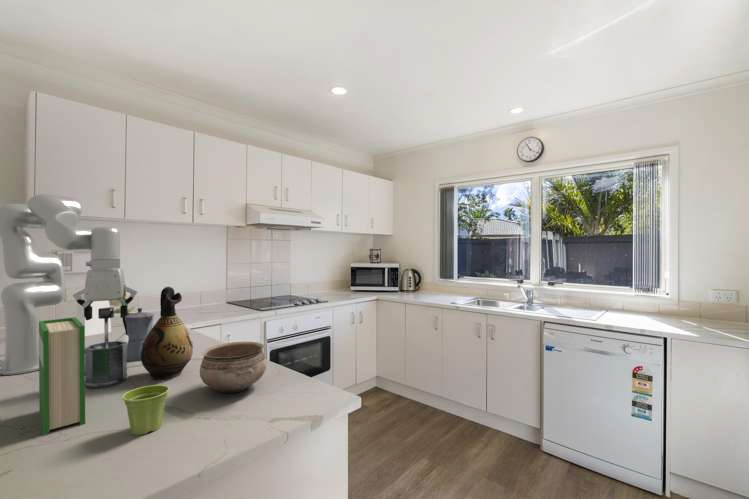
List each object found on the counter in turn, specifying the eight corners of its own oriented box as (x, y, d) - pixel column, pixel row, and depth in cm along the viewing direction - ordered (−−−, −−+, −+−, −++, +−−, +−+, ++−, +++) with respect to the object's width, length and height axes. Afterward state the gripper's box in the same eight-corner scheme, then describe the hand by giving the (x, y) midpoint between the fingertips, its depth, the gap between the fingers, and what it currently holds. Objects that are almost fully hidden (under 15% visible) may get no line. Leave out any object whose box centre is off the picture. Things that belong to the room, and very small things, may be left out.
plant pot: (137, 420, 87) (137, 385, 88) (176, 418, 88) (176, 383, 88) (112, 440, 78) (112, 401, 78) (156, 437, 79) (156, 399, 79)
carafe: (68, 392, 106) (67, 352, 106) (83, 379, 116) (83, 343, 116) (121, 385, 110) (121, 347, 110) (131, 374, 121) (131, 339, 121)
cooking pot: (281, 393, 103) (280, 351, 103) (213, 412, 91) (212, 365, 91) (250, 371, 122) (249, 336, 122) (190, 385, 110) (190, 346, 110)
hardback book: (85, 423, 86) (84, 325, 86) (43, 435, 81) (43, 331, 81) (75, 402, 98) (75, 317, 98) (39, 411, 93) (38, 321, 93)
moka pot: (143, 363, 133) (143, 310, 133) (110, 360, 136) (109, 309, 137) (163, 355, 143) (163, 306, 143) (131, 353, 146) (131, 305, 146)
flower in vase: (141, 340, 168) (140, 288, 168) (146, 344, 160) (146, 290, 160) (107, 345, 159) (106, 290, 159) (111, 350, 151) (111, 292, 151)
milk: (111, 331, 188) (110, 283, 188) (84, 336, 178) (84, 285, 178) (101, 329, 194) (101, 282, 194) (75, 333, 185) (75, 284, 185)
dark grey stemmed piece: (88, 357, 109) (88, 310, 109) (97, 351, 116) (97, 307, 116) (116, 354, 112) (115, 309, 112) (123, 348, 118) (122, 306, 118)
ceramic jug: (200, 374, 120) (199, 287, 121) (148, 387, 109) (147, 291, 109) (182, 363, 132) (182, 284, 132) (134, 374, 121) (133, 287, 121)
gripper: (67, 266, 107) (67, 322, 107) (133, 264, 113) (134, 318, 113) (78, 265, 114) (78, 318, 114) (140, 264, 120) (140, 314, 120)
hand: (106, 318), depth 114 cm, fingers open, 8 cm apart
